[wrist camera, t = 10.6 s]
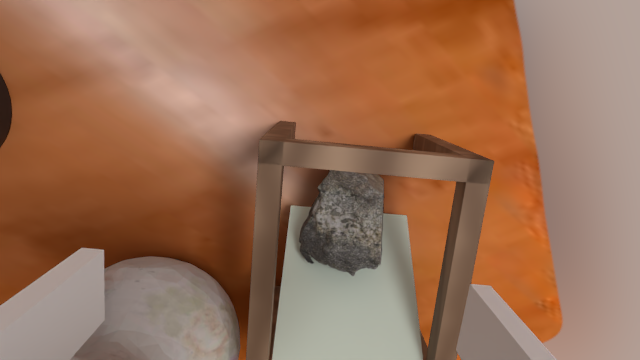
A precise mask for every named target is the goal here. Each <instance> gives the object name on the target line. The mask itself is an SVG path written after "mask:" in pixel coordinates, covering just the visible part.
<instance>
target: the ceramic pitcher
mask: <svg viewBox="0 0 640 360" xmlns="http://www.w3.org/2000/svg"><path fill="white" fill-rule="evenodd" d="M104 298H105V320H104V321H103V322H102V324H101V325H100V326H99V327H98V328H97V329H96V330H95V332H94V333H93V334H92V335H91V336H90V337H89V338H88V340H87V341H86V342H85V343H84V344H83V345H82V346H81V348H80V349H79V350H78V351H77V352H76V353H75V354H74V356H73V357H72V358H71V359H70V360H238V357H239V351H240V331H239V323H238V318H237V315H236V312H235V309H234V306H233V304H232V302H231V300H230V298H229V296H228V295H227V293H226V292H225V291H224V289H223V288H222V287H221V285H220V284H219V283H218V282H217V281H216V280H215V279H214V278H213V277H212V276H210V275H209V274H207V273H206V272H204V271H203V270H201V269H199V268H198V267H196V266H194V265H192V264H191V263H187V262H183V261H180V260H178V259H172V258H165V257H154V256H148V257H140V258H133V259H128V260H123V261H121V262H118V263H116V264H113V265H111V266H109V267H107V268H105V269H104Z"/></svg>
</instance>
